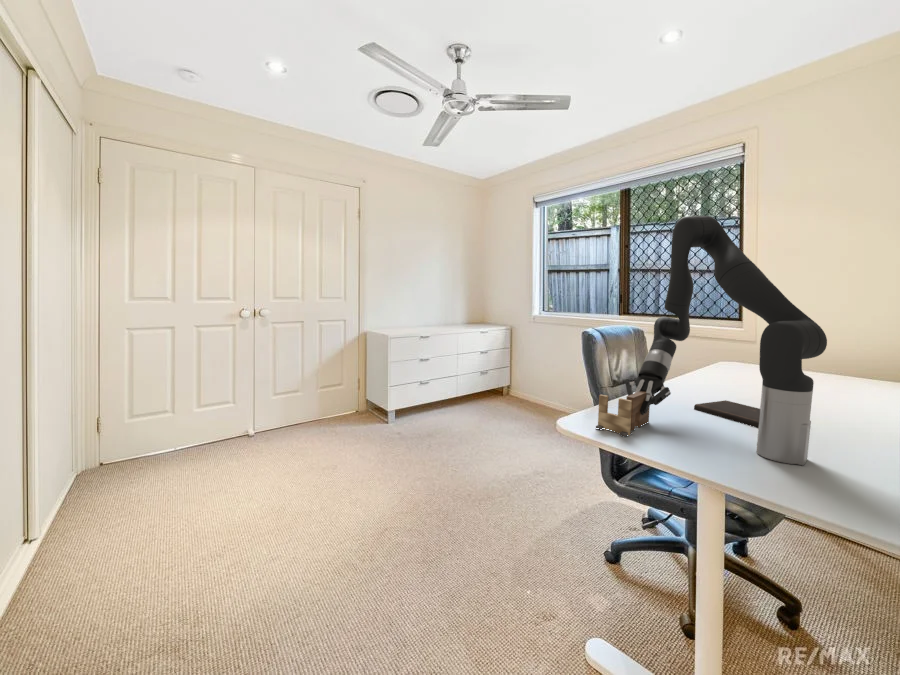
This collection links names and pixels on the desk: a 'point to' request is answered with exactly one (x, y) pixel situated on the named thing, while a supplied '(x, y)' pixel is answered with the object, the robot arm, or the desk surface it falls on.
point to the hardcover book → (731, 411)
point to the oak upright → (615, 416)
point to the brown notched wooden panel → (638, 409)
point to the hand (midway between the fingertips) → (637, 412)
